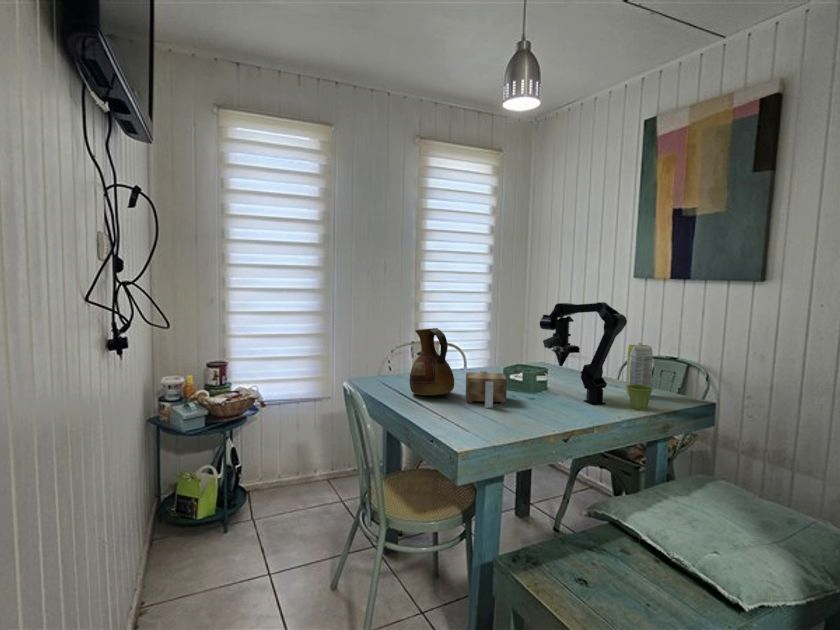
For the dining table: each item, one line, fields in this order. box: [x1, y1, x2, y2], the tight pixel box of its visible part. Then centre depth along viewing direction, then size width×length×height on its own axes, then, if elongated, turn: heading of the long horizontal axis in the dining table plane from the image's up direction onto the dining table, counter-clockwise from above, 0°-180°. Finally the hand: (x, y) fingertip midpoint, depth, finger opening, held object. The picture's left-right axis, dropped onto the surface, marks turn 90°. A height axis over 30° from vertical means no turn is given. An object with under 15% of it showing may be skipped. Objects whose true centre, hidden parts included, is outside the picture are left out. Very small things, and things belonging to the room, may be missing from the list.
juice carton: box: [625, 342, 654, 397], centre depth 207 cm, size 9×8×24 cm
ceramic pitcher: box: [409, 327, 455, 396], centre depth 204 cm, size 20×20×30 cm
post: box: [484, 382, 494, 409], centre depth 186 cm, size 3×3×10 cm
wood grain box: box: [465, 372, 508, 405], centre depth 197 cm, size 16×12×10 cm
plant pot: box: [627, 385, 654, 411], centre depth 187 cm, size 9×9×9 cm
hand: (560, 366), depth 208 cm, fingers closed
